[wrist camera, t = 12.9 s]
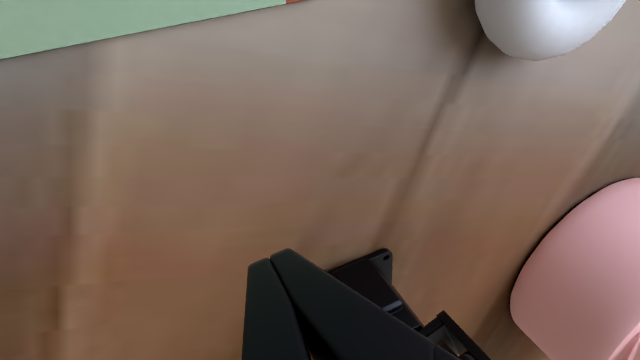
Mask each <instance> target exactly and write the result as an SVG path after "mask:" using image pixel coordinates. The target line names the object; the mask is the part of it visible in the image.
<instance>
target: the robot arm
mask: <svg viewBox="0 0 640 360" xmlns="http://www.w3.org/2000/svg"><path fill="white" fill-rule="evenodd" d="M436 316H437V317H436V318H435V319H434V320H432V321H431V322H430V323H428V324H427V325H426V326H424V325H423V324H422V323H421V321H420V320H419V319H418V317H417V316H416V315H415V314H414V312H413V311H412V310H411V308H410V307H409V306H408V305H407V303H406V302H405V301H404V299H403V298H402V297H401V296H400V294H399V293H398V292H397V290H396V289H395V288H394V287H393V285H392V253H391V252H390V251H389V250H388V249H386V248H385V249H382V250H379V251H377V252H374V253H372V254H370V255H367V256H365V257H362V258H360V259H357V260H355V261H352V262H350V263H347V264H345V265H343V266H340V267H338V268H335V269H333V270H330V271H328V272H325V271H324V270H322V269H321V268H319V267H318V266H316V265H315V264H313V263H312V262H310V261H308V260H307V259H305V258H304V257H302V256H301V255H299V254H298V253H296V252H295V251H293V250H292V249H289V248H286V249H284V250H282V251H279V252H277V253H275V254H273V255H271V257H270V259H269V258H264V259H262V260H259V261H257V262H255V263H253V264H251V265H250V266H249V268H248V276H247V290H246V304H245V318H244V332H243V346H242V360H491V359H490V358H489V357H488V356H487V355H486V354H485V353H484V352H483V351H482V350H481V349H480V348H479V347H478V346H477V345H476V344H475V343H474V342H473V340H472V339H471V338H470V337H469V336H468V335H467V334H466V333H465V332H464V331H463V330H462V329H461V328H460V327H459V326H458V325H457V324H456V323H455V322H454V321H453V320H452V319H451V317H450V316H449V315H448V314H447V313H446V312H445V311H444V310H443V311H442V312H440V313H439V314H438V315H436ZM457 354H459V355H460V356H459V357H458V356H457ZM310 355H311V356H310ZM311 358H312V359H311Z"/></svg>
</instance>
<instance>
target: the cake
mask: <svg viewBox="0 0 640 360" xmlns="http://www.w3.org/2000/svg"><path fill="white" fill-rule="evenodd" d="M510 311H511V315H512V318H513V320H514V322H515V323H516V324H517V325H518V327H519V328H520V329H521V330H522V331H523V332H524V333H525V334H526V335H527V336H528V337H529V338H530V339H531V340H532V341H533V342H534V343H535V344H536V345H537V346H538V347H539V348H540V349H541V350H542V351H543V352H544V353H545V354H546V355H547V356H548V357H549V358H550V359H551V360H640V178H631V179H627V180H623V181H619V182H616V183H614V184H611V185H609V186H607V187H605V188H603V189H602V190H600V191H598V192H597V193H595V194H594V195H592V196H591V197H589V198H588V199H586V200H585V201H583V202H582V203H580V204H579V205H578V206H577V207H575V208H574V209H573V210H572V211H571V212H570V213H569V214H568V215H566V216H565V217H564V218H563V219H562V220H561V221H560V222H559V223H558V224H557V225H556V226H555V227H554V228H553V229H552V230H551V231H550V232H549V233H548V234H547V235H546V236H545V238H544V239H543V240H542V241H541V243H540V244H539V245H538V247H537V248H536V249H535V251H534V252H533V253H532V255H531V256H530V257H529V259H528V260H527V262H526V263H525V265H524V266H523V268H522V270H521V272H520V274H519V276H518V278H517V280H516V283H515V285H514V288H513V290H512V293H511V298H510Z"/></svg>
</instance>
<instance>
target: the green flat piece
mask: <svg viewBox="0 0 640 360" xmlns="http://www.w3.org/2000/svg"><path fill="white" fill-rule="evenodd" d="M298 1H303V0H0V59H4V58H10V57H15V56H20V55H25V54H30V53H35V52H40V51H46V50H51V49H56V48H61V47H66V46H71V45H76V44H82V43H87V42H92V41H97V40H102V39H107V38H112V37H118V36H123V35H128V34H133V33H138V32H143V31H148V30H153V29H159V28H164V27H169V26H174V25H179V24H184V23H189V22H195V21H200V20H205V19H210V18H215V17H220V16H225V15H231V14H236V13H241V12H246V11H251V10H256V9H261V8H267V7H272V6H277V5H282V4H288V3H293V2H298Z"/></svg>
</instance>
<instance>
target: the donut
mask: <svg viewBox="0 0 640 360" xmlns="http://www.w3.org/2000/svg"><path fill="white" fill-rule="evenodd" d="M625 1H626V0H475V11H476V13H477V15H478V18H479V20H480V23H481V25H482V27H483V30H484V32H485V34H486V36H487V38H488V39H489V40H490V41H491V42H493V43H494V44H495V45H496V46H497V47H498V48H499V49H500V50H501V51H502V52H504V53H505V54H507V55H508V56H512V57H517V58H521V59H525V60H531V61H539V60H544V59H548V58H553V57H557V56H561V55H565V54H567V53H568V52H570V51H572V50H573V49H575V48H577V47H578V46H580V45H582V44H584V43H585V42H587V41H588V40H590V39H591V38H592V37H594V36H595V35H596V34H597V33H598V32H599V31H600V30H601V29H602V28H603V27H604V26H605V25H606V24H607V23H608V22H609V21H610V20H611V19H612V18H613V17H614V15H615V14H616V13H617V11H618V10H619V9H620V7H621V6H622V5H623V4H624V2H625Z"/></svg>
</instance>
